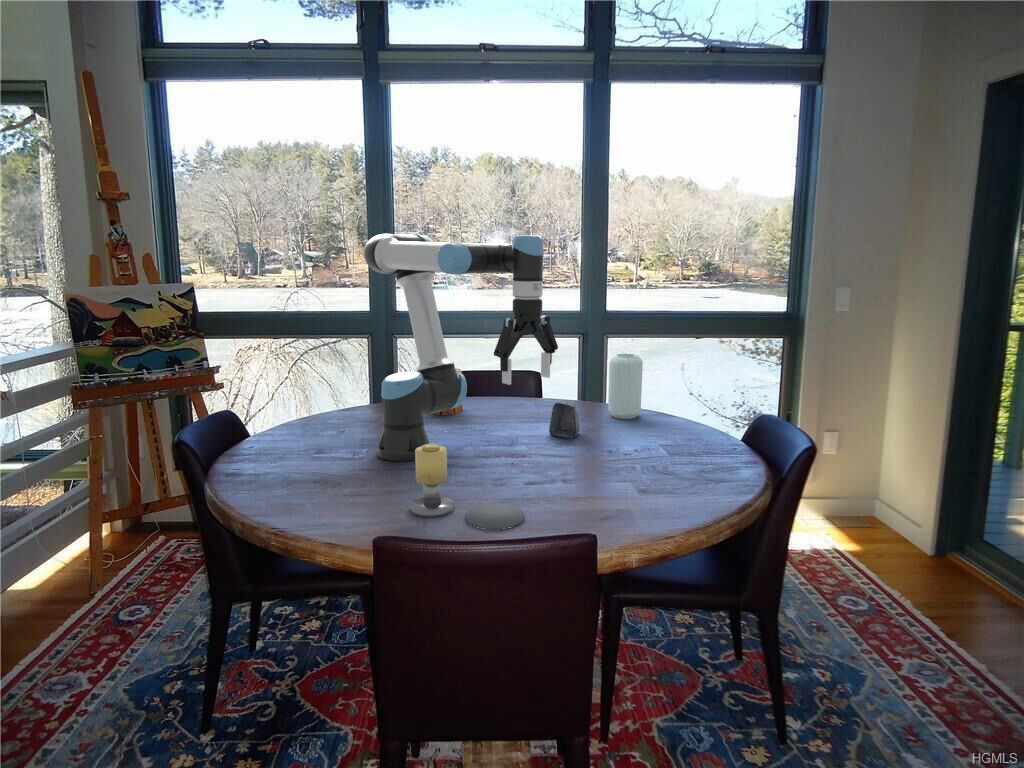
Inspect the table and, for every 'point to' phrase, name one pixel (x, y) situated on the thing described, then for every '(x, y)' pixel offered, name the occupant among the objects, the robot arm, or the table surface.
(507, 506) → the rubber mat
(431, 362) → the robot arm
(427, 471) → the cap
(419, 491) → the table surface
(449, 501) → the metal disc with peg
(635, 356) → the vase
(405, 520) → the table surface
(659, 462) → the table surface
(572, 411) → the stone
